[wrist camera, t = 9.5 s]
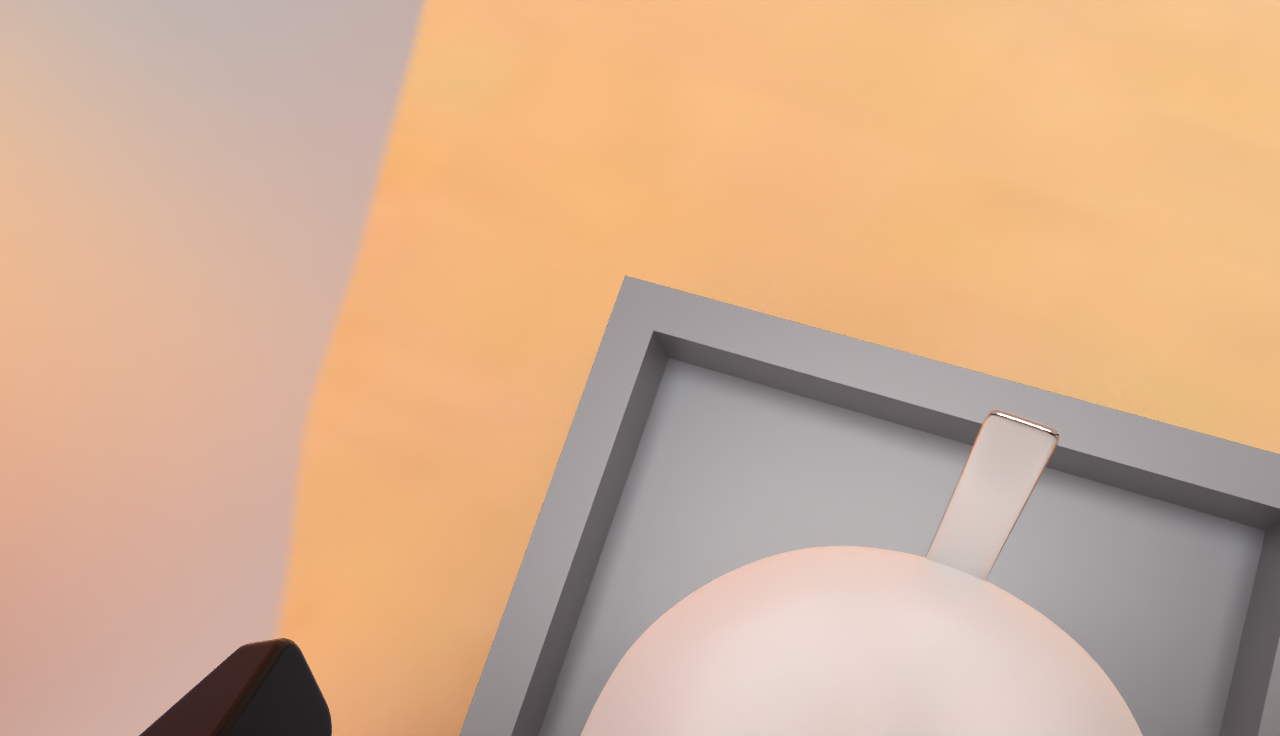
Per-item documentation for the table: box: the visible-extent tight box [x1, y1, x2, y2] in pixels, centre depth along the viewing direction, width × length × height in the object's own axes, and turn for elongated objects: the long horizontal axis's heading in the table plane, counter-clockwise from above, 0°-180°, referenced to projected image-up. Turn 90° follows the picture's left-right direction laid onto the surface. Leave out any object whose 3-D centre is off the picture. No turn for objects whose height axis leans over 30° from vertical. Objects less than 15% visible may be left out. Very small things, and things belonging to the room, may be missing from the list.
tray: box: [460, 276, 1280, 736], centre depth 16 cm, size 10×10×2 cm
